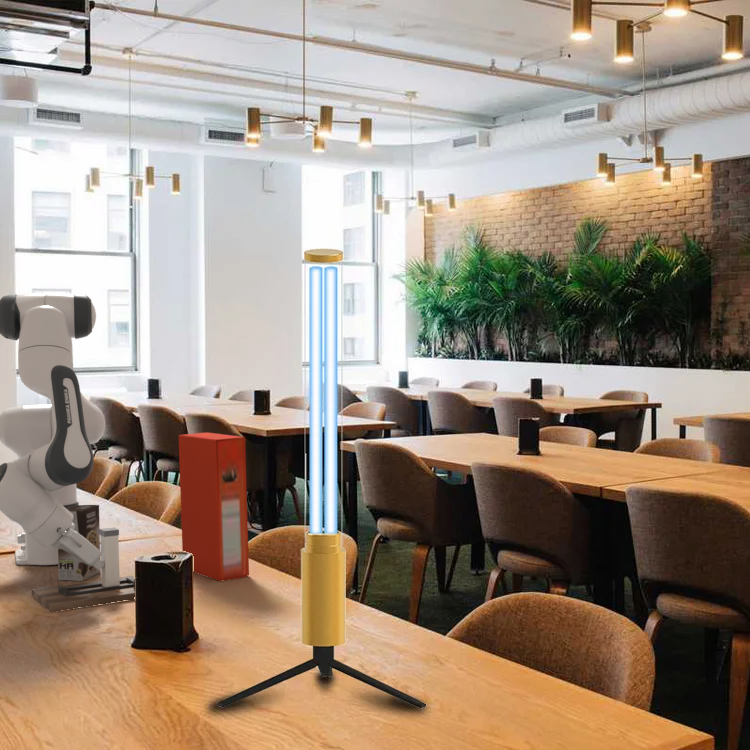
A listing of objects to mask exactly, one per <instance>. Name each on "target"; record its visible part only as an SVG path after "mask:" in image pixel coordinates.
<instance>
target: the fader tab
mask: <svg viewBox="0 0 750 750" xmlns="http://www.w3.org/2000/svg"><path fill="white" fill-rule="evenodd" d="M119 535H120V529H118V528H117V527H107V528H100V551H101V553H102V555H101V557H100V560H101V561H102V562H103V563H104V566H103V567H102V568H101V575H100V576H101V580H102V586H103V587H111V586H118V585H120V577H121V576H120V548H119V543H120V542H119Z"/></svg>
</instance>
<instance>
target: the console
mask: <svg viewBox="0 0 750 750" xmlns="http://www.w3.org/2000/svg"><path fill="white" fill-rule="evenodd" d="M134 577H135V576H134V575H128V576H120V585H118V586H111V587H103V586H102V579H98V580H93V581H91V580H90V581H85V582H84V581H82V582H76V583H70V584H63V585H55V586H49V587H48V586H47V587H41V588H33V589H31V597H32V598H33V597H34V598H35V599H34V598H33V599H34V600H36V601H37V602H38V603H39V604H40V605H41V606H43V608H45V609H46V608H47V609H48V612H50V613H56V611H58V612H62V611H61V610H65V611H68V610H67V609H71V610H74V609H73V608H78V607H85V608H87V607H86V606H92V607H94V606H93V605H98V604H105V605H107V604H106V603H111V602H117V601H123V600H132V601H135V600H134V597H135V579H134ZM98 606H99V605H98ZM47 609H46V610H47ZM78 609H79V608H78Z"/></svg>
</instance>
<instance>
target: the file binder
mask: <svg viewBox="0 0 750 750" xmlns="http://www.w3.org/2000/svg"><path fill="white" fill-rule="evenodd" d="M178 456H179V460H178V461H179V482H180V483H179V486H180V490H179V491H180V492H179V493H180V516H181V518H180V519H181V521H180V522H181V547H182V548H181V549H182V552H183V551H186V552H189V553H192V554H193V556H194V572H196V573H195V574H197V573H199V574H202V575H205V576H208V577H211V578H213V579H212V580H214V579H216V580H215V581H217V580H219V581H218V582H220V581H221V582H223V581H222V580H226V581H229V580H228V579H231V580H235V579H234V578H236V579H240V577H242V578H247V577H248V576H249V575H250V564H249V563H250V557H249V533H248V532H249V529H248V527H249V525H248V501H247V499H248V495H247V468H246V467H247V466H246V465H247V464H246V438H245V436H239V435H232V434H231V435H230V434H223V433H214V432H208V431H207V432H195V433H187V434H179V435H178ZM194 572H193V573H194ZM199 574H198V575H199ZM202 575H201V576H202ZM205 576H204V577H205ZM246 576H247V577H246ZM208 577H207V578H208ZM211 578H210V579H211Z"/></svg>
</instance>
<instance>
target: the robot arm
mask: <svg viewBox="0 0 750 750" xmlns="http://www.w3.org/2000/svg"><path fill="white" fill-rule="evenodd" d="M96 322H97V313H96V308H95V305H94V304H93V302H92V299H91V298H90V297H89V296H88V295H87V294H83V293H77V292H74V293H73V294H72V293H67V292H56V291H55V292H53V291H46V292H35V293H24V294H17V293H13V294H7V295H4V296H2V297H1V298H0V336H2V337H4V338H5V339H6V340H12V341H18V344H17V345H18V346H17V347H18V351H17V353H18V354H17V368H18V374H19V378H20V381H21V382H22V383H23V385H24V386H26V388H28V389H29V390H31V391H33V392H35V394H37V395H41V396H43V397H46V398H47V399H48V400H50V403H40V404H39V403H38V404H37V403H35V404H22V405H21V404H20V405H16V406H12V407H7V408H5V409H3V411H2V412H1V413H0V442H1V443H2V445H3V446H5V447H6V448H8V449H9V450H11V451H12V452H13V453H14V454H15V455H16V456H17V457H18V458H17V459H15V460H13V461H10V462H3V463H1V464H0V512H1V513H2V514H4V516H6V517H7V519H9V520H10V521H12V522H14V523H16V524H17V525H19V526H20V527H21V528H22V529H23V532H21V533H20V534H17V540H16V541H17V545H21V546H20V548H18V549H16V550H15V551H14V552H15V553H14V557H15V564H16V565H33V566H34V565H35V566H51V565H52V566H53V565H55V566H56V565H58V547H59V548H61V549H63V550H64V551H66V552H68V553H69V554H71V555H73V556H74V557H76V558H77V559H79V560H81V561H82V562H84V563H85V564H87V565H89V566H93V567H94V568H96V569H98V570H100V569H101V568H102V567H103V566H104V563H103V562H102V561H101V555H102V553H101V549H100V550H99V549H98V548H96V547H95V546H94V545H93V544H92V543H90V542H89V541H88V540H87V539H86V538H84V537H83V536H82V535H81V534H79V533H78V532H76V531H75V530H74V528H75V524H74V523H73V522H72V521H73V517H74V516H73V514H72V513H71V512H70V511H68V510H67V509H66V508H68V507H71V506H74V505H80V503H79V501H78V496H77V495H78V493H77V484H79V483H82V482H84V481H85V480H87V479H88V478H89V477H90V476H91V473H92V471H93V468H94V464H95V457H94V453H93V449H92V446H91V445H93V444H96V443H99V441H100V440H101V439H102V437H103V436H104V433H105V431H106V418H105V415H104V413H103V412H102V410H101V408H99V407H98V406H97V405H96V404H94V403H92V402H91V401H89V399H87V398H86V397H85V396H84V394H83V393H82V392H81V388H80V382H79V379H78V376H77V374H76V372H75V371H74V357H73V356H74V355H73V353H74V352H73V351H74V350H73V342H72V341H73V338H74V339H75V340H78V339H83V338H86V337H88V336H89V335H90V334H91V333H92V332H93V329H94V327H95V324H96ZM99 558H100V559H99Z"/></svg>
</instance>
